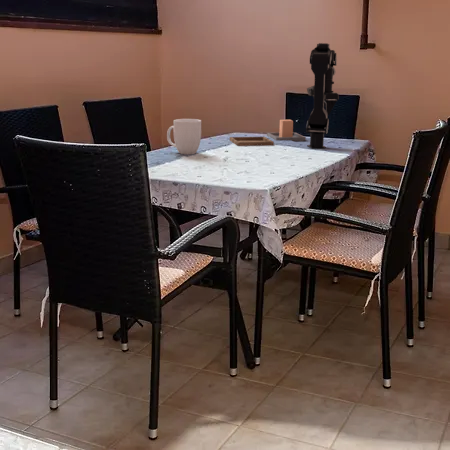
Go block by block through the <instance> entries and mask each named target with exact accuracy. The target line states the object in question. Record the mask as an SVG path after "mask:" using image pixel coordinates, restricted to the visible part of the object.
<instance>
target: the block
mask: <svg viewBox="0 0 450 450" xmlns="http://www.w3.org/2000/svg"><path fill="white" fill-rule="evenodd" d="M293 132H294V120H292V119H279V132H278V133H279V137H293Z"/></svg>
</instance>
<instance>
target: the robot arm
mask: <svg viewBox="0 0 450 450" xmlns="http://www.w3.org/2000/svg"><path fill="white" fill-rule="evenodd" d="M337 58H338V57H337V52H336V51H335V50H334V49H331V48H330V43H326V42H325V43H323V42H319V43H316V47H315V48H313V49H312V50H311V51H310V56H309V64H310V70H311V71H312V73H313V75H314V85H312V86H310V87H307V88H306V92H307V94H308V95H307V96H310V97H313V109H312V111H311V112H310V115H309V117H308V120H307V121H306V126H305V133H307V134H309V137H310V138H309V144H307V145H306V146H307V147H309V148H311V149H326V148H327V147H326V146H325V145H324V140H325V139H324V138H325V135H327V134H328V132H329V131H328V130H329V124H330V123H329V121H330V120H329V118H328V116H329V115H330V114H331V112H332V110H333V108H334V107H335V105H336V103H337V102H338V100H340V95H339V93H337V92H334V90H333V85H334V84H335V81H333V80H334V79H333V78H334V76H335V74H336V68H335V67H334V66H337V64H338V63H337V62H338V59H337Z"/></svg>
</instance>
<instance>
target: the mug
mask: <svg viewBox="0 0 450 450" xmlns="http://www.w3.org/2000/svg"><path fill="white" fill-rule="evenodd" d="M172 130H173V140H174V143H173V141H172V140H171V131H172ZM166 140H167V142H168V144H169V145H171V146H172V147H174V148H176V150H177V151H178V153H179V154H180V155H195V154H196V153H197V152H198V150H199V149H200V144H201V141H202V119H197V118H177V119H173V125H171V126H169V128H168V129H167V132H166Z"/></svg>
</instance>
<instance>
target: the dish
mask: <svg viewBox="0 0 450 450" xmlns="http://www.w3.org/2000/svg"><path fill="white" fill-rule="evenodd" d="M229 141H230V142H231V143H233V144H234V145H235V146H236V147H245V146H246V147H250V146H252V147H254V146H255V147H257V146H259V147H260V146H274V144H275V143H274V141H272V139H269V138H267V136H230V137H229Z"/></svg>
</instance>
